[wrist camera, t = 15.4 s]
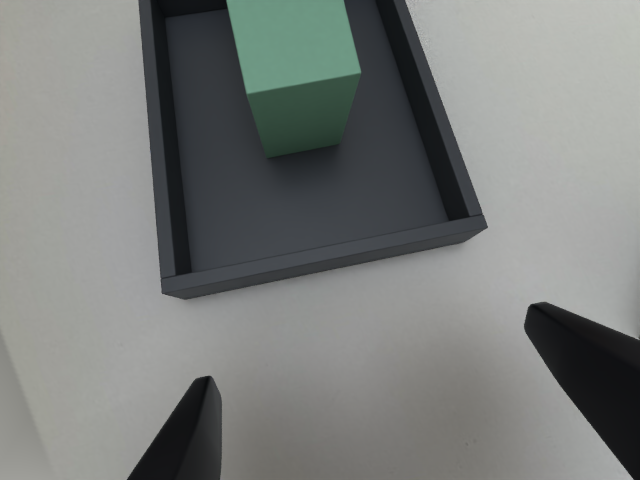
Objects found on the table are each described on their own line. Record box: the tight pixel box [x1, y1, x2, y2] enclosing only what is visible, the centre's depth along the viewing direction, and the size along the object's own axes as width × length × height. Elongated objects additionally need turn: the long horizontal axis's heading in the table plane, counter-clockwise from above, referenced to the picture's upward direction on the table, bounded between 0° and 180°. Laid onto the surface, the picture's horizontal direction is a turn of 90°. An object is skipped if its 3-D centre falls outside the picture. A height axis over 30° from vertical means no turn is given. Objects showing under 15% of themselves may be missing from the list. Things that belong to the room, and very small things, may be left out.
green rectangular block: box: [226, 0, 361, 158], centre depth 18 cm, size 5×8×14 cm
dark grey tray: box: [139, 0, 488, 300], centre depth 22 cm, size 22×18×3 cm
